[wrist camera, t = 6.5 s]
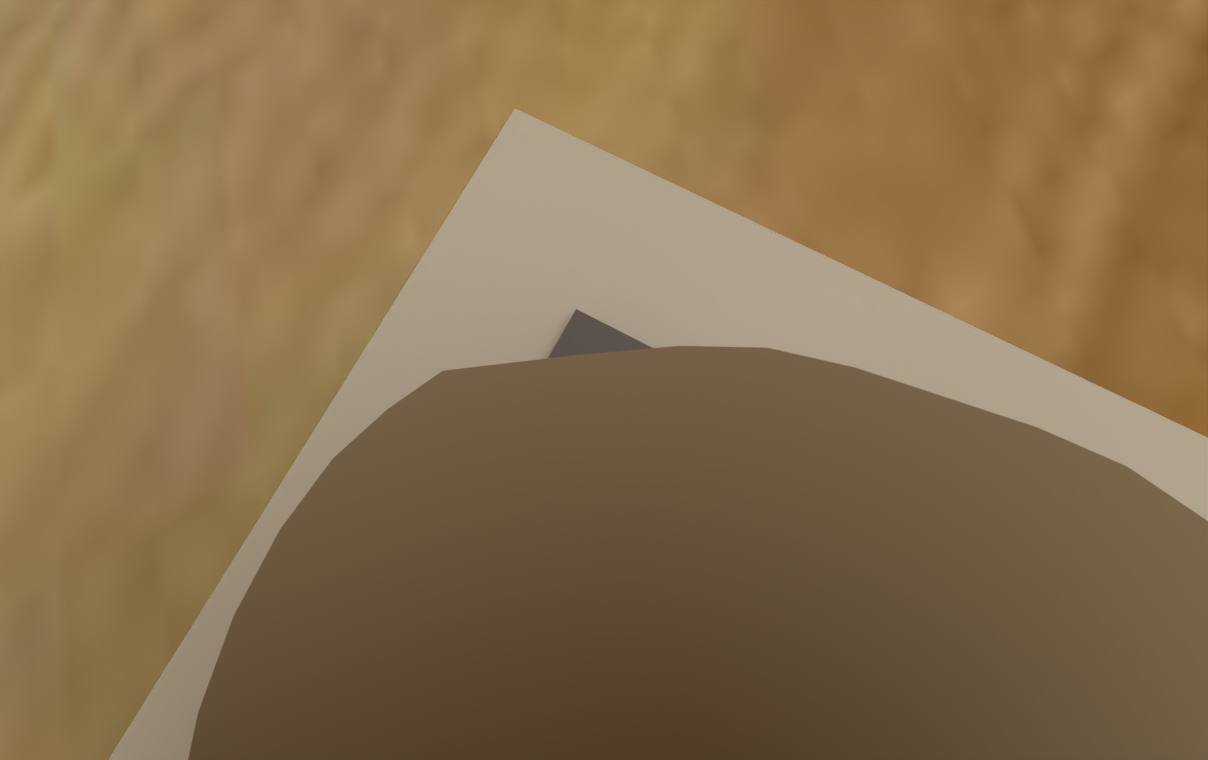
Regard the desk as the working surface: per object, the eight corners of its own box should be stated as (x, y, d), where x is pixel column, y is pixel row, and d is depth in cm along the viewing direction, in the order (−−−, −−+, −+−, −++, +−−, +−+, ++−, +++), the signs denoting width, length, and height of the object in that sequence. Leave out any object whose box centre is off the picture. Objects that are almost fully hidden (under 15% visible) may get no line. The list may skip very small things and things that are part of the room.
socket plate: (900, 1390, 17) (922, 1455, 15) (74, 830, 20) (36, 846, 18) (1253, 469, 20) (1294, 461, 19) (517, 118, 23) (510, 91, 22)
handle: (585, 503, 20) (410, 221, 5) (863, 604, 19) (1581, 604, 4) (506, 716, 19) (11, 1109, 4) (797, 833, 18) (1451, 1842, 3)
